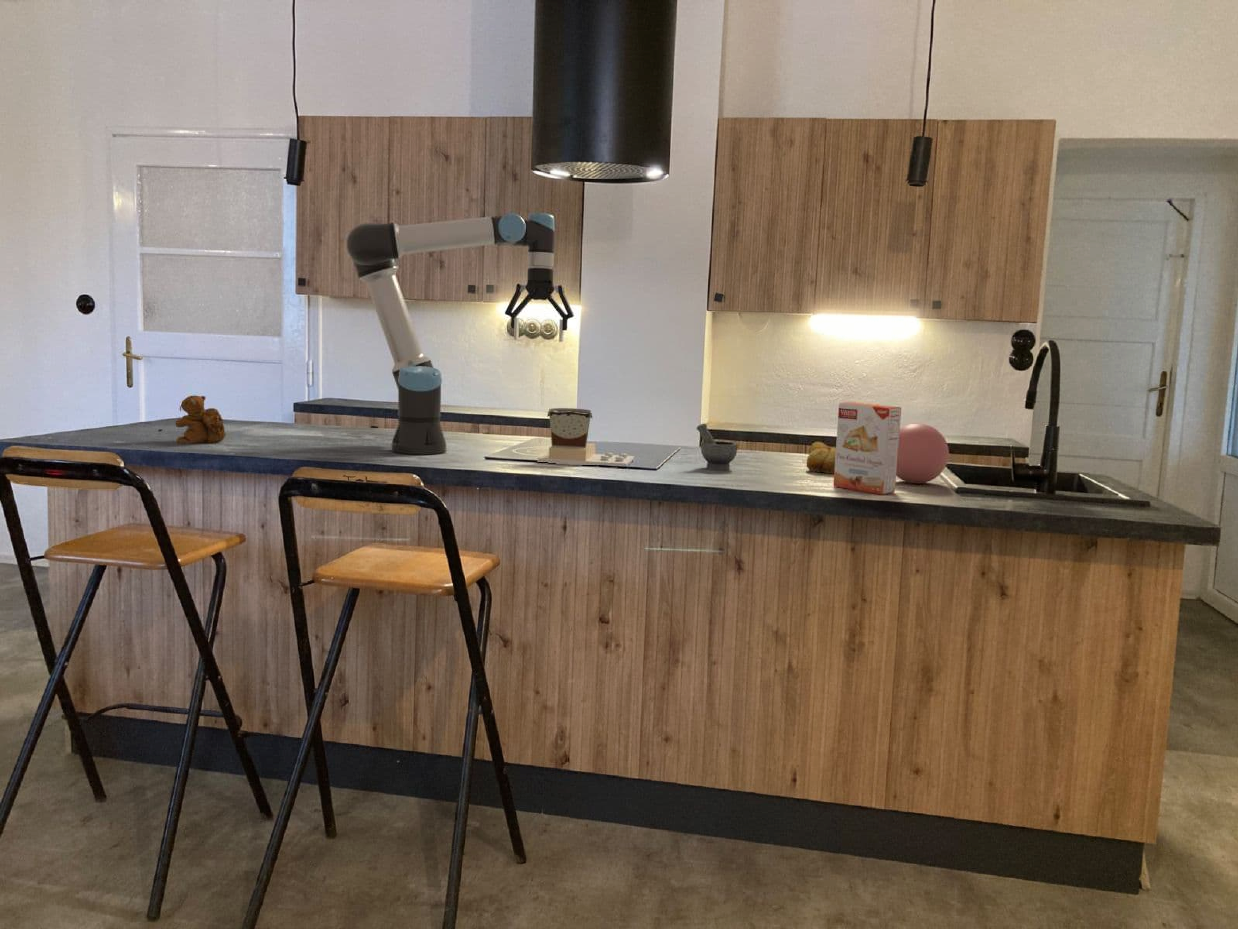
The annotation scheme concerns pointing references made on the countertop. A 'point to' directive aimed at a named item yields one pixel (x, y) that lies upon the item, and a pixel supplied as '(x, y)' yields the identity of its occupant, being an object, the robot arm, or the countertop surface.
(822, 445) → the bread roll
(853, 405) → the cracker box
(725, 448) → the mortar and pestle
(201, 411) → the stuffed squirrel
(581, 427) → the food container
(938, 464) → the balloon
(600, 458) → the build plate
